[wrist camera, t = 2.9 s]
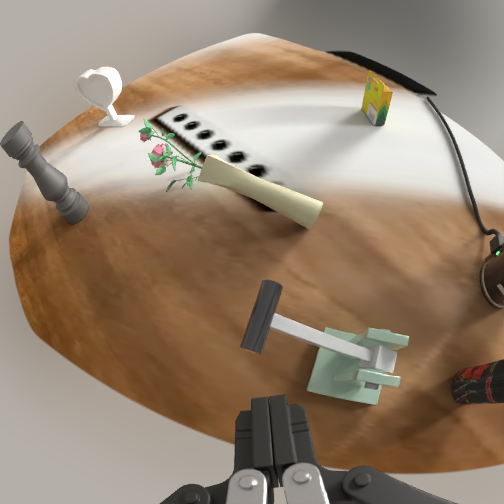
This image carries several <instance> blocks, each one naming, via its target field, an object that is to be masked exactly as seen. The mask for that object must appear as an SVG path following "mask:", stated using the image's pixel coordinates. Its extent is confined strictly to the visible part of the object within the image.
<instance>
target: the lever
mask: <svg viewBox="0 0 504 504" xmlns="http://www.w3.org/2000/svg"><path fill="white" fill-rule="evenodd" d="M282 289H283V286H282V285H281V284H279V283H277V282H275V281H272V280H263V281H262V284H261V287H260V290H259V293H258V296H257V298H256V301H255V304H254V307H253V310H252V313H251V316H250V319H249V322H248V325H247V328H246V330H245V333H244V336H243V339H242V342H241V345H240V348H241V349H243V350H246V351H249V352H252V353H255V354H259V355H261V354H262V351H263V348H264V345H265V342H266V339H267V336H268V333H269V330H270V329H271V330H274V331H277V332H279V333H282V334H284V335H287V336H290V337H293V338H295V339H298V340H301V341H303V342H306V343H309V344H312V345H315V346H318V347H320V348H323V349H326V350H329V351H332V352H335V353H338V354H341V355H344V356H347V357H350V358H353V359H356V360H359V361H360V362H359V366H358V367H359V368H362V369H366V370H369V371H373V372H377V373H393V370H394V366H395V361H396V356H397V351H394V350H391V349H388V348H386V347H383V346H380V345H378V346H363V347H361V346H358V345H355V344H353V343H350V342H347V341H345V340H342V339H339V338H336V337H334V336H331V335H329V334H326V333H323V332H321V331H318V330H316V329H313V328H310V327H308V326H305V325H303V324H300V323H298V322H295V321H293V320H290V319H288V318H285V317H283V316H281V315H278V314H276V313H275V311H276V308H277V305H278V302H279V299H280V295H281V292H282Z"/></svg>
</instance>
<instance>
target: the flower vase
mask: <svg viewBox="0 0 504 504" xmlns="http://www.w3.org/2000/svg"><path fill="white" fill-rule="evenodd" d="M144 123H145V126H146V127H145V128H143V129H141V130H140V131H138V132H140V133H141V135H140V137H141V139H140V140H142V141H143V140H144V142H145V141H147V140H149V139H150V141H151V137H152V136H154V137H158V138H161V137H159V136H155V135H153V133H152V132H153V131H151V129H153V127H152V125H150V124H149V122H148V121H147V120H145V119H144ZM153 130H154V129H153ZM154 131H155V130H154ZM155 133H157V132H156V131H155ZM157 135H158V134H157ZM162 136H165V135H164V131H163V130H162ZM173 136H175V135H174V134H173V133H169V134H167V137H166V139H163V138H161V139H163V140H165V141H166V142H168V143H169V144H170V145H171V146H173V145H172V144H171V143H170V142H169V141H168V140H167V139H170V138H172V137H173ZM173 147H174V148H175V149H176V150H177V151H178V152H179V153H180V154H182V155H183V156H184V157H185V158H187V157H186V156H185V155H184V154H183V153H181V152H180V151H179V150H178V149H177V148H176V147H175V146H173ZM201 153H202V152H201ZM201 153H198V154H197V155H195V157H194V162H193V161H191V160H190V159H189V158H187V159H188V160H189V161H190V162H192V163H193V164H192V163H189V162H188V161H187V162H186V160H185V161H183V160H184V159H183V160H179V159H177V156H173V157H169V156H170V155H172V154H173V152H172V151H171V148H170V147H169V146H168V144H165V145H164V144H162V145H159V144H158V145H157V146H156V147H155V148H153V152H151V153H148V155H149V158H150V159H151V162H152V163H151V164H152V165H153V166H154V167H155V168H156V167H157V168H158V169H157V170H156V174H155V175H161V174H162V173H164V172H165V170H166V167H167V166H166V167H165V165H168V162H169V161H172V165H173V168H174V171H175V168H176V161H180V162H183V163H186V164H189V165H192V166H195V167H198V168H201V169H202V170H201V173H200V176H198V177H199V178H198V181H200V182H206V183H211V184H215V185H219V186H222V187H225V188H227V189H230V190H233V191H235V192H238V193H240V194H243V195H245V196H248V197H250V198H253V199H255V200H257V201H259V202H261V203H262V204H264V205H266V206H268V207H270V208H272V209H273V210H275V211H277V212H279V213H281V214H282V215H284V216H286V217H288V218H290V219H291V220H293V221H295V222H297V223H299V224H300V225H302V226H304V227H306V228H307V229H309V230H311V228H312V227H313V225H314V223H315V221H316V219H317V217H318V215H319V213H320V210H321V207H322V204H323V202H321V201H318V200H315V199H312V198H310V197H307V196H305V195H302V194H300V193H297V192H295V191H292V190H290V189H287V188H284V187H282V186H279V185H277V184H274V183H271V182H268V181H266V180H263V179H260V178H258V177H256V176H254V175H252V174H250V173H248V172H246V171H244V170H241V169H239V168H237V167H235V166H233V165H231V164H229V163H227V162H225V161H224V160H222V159H221V158H220V157H218V156H217V155H207V157H206V159H205V162H204V165H203V167H201V166H198V165H196V164H195V161H196V159H197V158H198V157H199V156H200V154H201ZM178 157H179V156H178ZM167 158H168V160H167ZM180 158H181V157H180ZM171 159H172V160H171ZM181 159H182V158H181ZM170 164H171V163H170ZM170 164H169V165H170ZM193 171H195V169H194V167H192V169H191V171H190V173H192V172H193ZM190 173H189V174H190ZM195 178H196V179H197V177H195ZM192 179H193V178H192V174H191V175H190V176H189V177H188V178H187V182H186V183H187V184H188V186H189V187H190V188H192ZM181 180H183V179H181ZM176 181H179V180H173V181H172V182H171V183H170V185H169V186H168V188H167V191H168V189H169V188H170V187H171V186H172V185H173V184H174V183H175V182H176ZM186 183H185V184H186ZM185 184H184V185H183V186H182V189H183V187H184V186H185ZM167 191H166V192H167Z"/></svg>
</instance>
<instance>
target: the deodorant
mask: <svg viewBox="0 0 504 504" xmlns="http://www.w3.org/2000/svg"><path fill="white" fill-rule="evenodd" d="M452 395H453V398H454V400H455V401H456V402H457V403H459V404H491V403H504V359H503V360H500V361H496V362H492V363H488V364H484V365H479V366H475V367H470V368H466V369H463V370H461V371H460V372H459V373H458V374H457V375H456V377H455V379H454V381H453V385H452Z"/></svg>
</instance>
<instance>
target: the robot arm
mask: <svg viewBox="0 0 504 504" xmlns="http://www.w3.org/2000/svg"><path fill="white" fill-rule="evenodd" d="M427 100H428V101H429V102H430V104H431V105H432V106H433V108H434V109H435V111H436V112H437V113H438V115H439V116H440V118H441V120H442V121H443V123H444V125H445V127H446V128H447V130H448V132H449V134H450V137H451V139H452V141H453V144H454V146H455V149H456V152H457V154H458V157H459V161H460V164H461V167H462V171H463V174H464V178H465V181H466V185H467V189H468V193H469V196H470V199H471V202H472V205H473V208H474V212H475V215H476V218H477V221H478V223H479V225H480V227H481V229H482V231H483V232H484V233H485V234H486V235H491V234H495V235H496V236H495V237H494V238H493V239H492V240H491V241H490V249H491V254H490V255H489V256H488V257H486V258H485V264H484V265H483V267H482V270H481V275H480V280H481V286H482V290H483V293H484V295H485V297H486V299H487V300H488V301H489V303H490V304H491V305H493V306H494V307H496V308H504V236H502V235H501V234H500V233H499V232H498V231H497V230H496V229H490V230H487V229H486V228H485V227H484V225H483V224H482V221H481V219H480V216H479V212H478V208H477V205H476V201H475V199H474V196H473V193H472V190H471V186H470V182H469V179H468V175H467V172H466V169H465V165H464V162H463V159H462V156H461V153H460V150H459V148H458V145H457V143H456V140H455V138H454V136H453V133H452V131H451V129H450V128H449V126H448V124H447V122H446V121H445V119H444V117H443V116H442V114H441V113H440V111H439V110H438V108H437V107H436V106H435V104H434V103H433V102H432V101H431V99H430V98H429V97H427ZM269 400H270V404H269ZM235 431H236V432H235V459H234V471H233V474H232V475H231V476H230V478H229V479H227V480H226V481H224V482H223V483H220V484H217V485H213V486H209V487H205V488H204V487H202V486H200V485H197V484H188V485H184V486H182V487H180V488H179V489H178V490H177V491H175V492H174V493H173V494H172V495H170V496H169V497H168V498H167V499H165V500H164V501H163V502H161V503H160V504H274V490H273V488H275V487H279V485H278V479H279V483H280V487H284V492H285V497H286V502H287V504H457V503H454V502H451V501H448V500H445V499H443V498H440V497H437V496H435V495H432V494H430V493H427V492H424V491H422V490H420V489H417V488H415V487H413V486H410V485H408V484H406V483H404V482H401V481H399V480H397V479H395V478H393V477H390V476H389V475H387V474H385V473H383V472H381V471H379V470H377V469H375V468H373V467H370V466H358V467H355V468H352V469H351V470H349V471H331V470H327V469H325V468H323V467H322V466H320V465H319V463H318V462H317V460H316V457H315V452H314V447H313V442H312V437H311V433H310V428H309V423H308V418H307V414H306V411H305V410H304V409H303V407H302V406H301V405H300V404H294V405H288V406H287V399H286V394H283V395H276V396H269V399H268V397H262V398H253V399H251V410H248V411H241V412H240V413H239V415H238V417H237V419H236V426H235Z"/></svg>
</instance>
